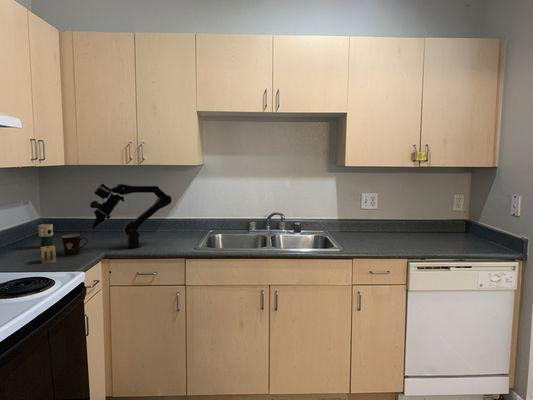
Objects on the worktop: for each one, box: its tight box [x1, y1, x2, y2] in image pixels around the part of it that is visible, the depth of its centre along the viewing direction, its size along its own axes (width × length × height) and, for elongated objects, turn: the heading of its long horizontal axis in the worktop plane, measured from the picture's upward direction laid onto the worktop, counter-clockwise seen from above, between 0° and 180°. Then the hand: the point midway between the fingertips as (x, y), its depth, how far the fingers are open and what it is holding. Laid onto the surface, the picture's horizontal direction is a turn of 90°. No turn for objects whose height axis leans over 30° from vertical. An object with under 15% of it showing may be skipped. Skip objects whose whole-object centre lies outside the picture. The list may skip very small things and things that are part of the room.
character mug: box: [37, 223, 54, 248], centre depth 217 cm, size 11×7×13 cm, turn 3°
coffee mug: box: [61, 233, 89, 256], centre depth 201 cm, size 12×9×10 cm
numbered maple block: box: [40, 245, 57, 265], centre depth 188 cm, size 6×6×7 cm
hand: (93, 227), depth 206 cm, fingers closed
